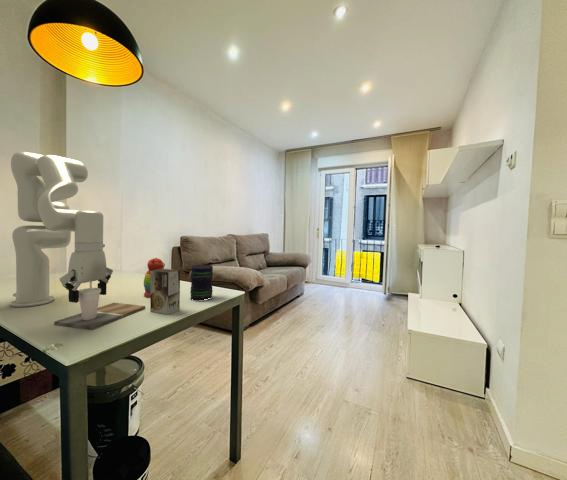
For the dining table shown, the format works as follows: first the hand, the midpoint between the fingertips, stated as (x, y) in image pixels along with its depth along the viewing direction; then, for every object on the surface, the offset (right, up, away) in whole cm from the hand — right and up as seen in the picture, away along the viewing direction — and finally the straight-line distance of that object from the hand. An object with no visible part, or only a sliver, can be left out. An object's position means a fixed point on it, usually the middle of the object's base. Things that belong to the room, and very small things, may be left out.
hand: (88, 298), depth 84 cm
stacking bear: (+5, -7, +35) cm, 36 cm away
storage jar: (+28, -8, +32) cm, 43 cm away
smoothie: (0, -7, 0) cm, 7 cm away
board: (+1, -8, +6) cm, 10 cm away
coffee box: (+20, -8, +13) cm, 25 cm away
